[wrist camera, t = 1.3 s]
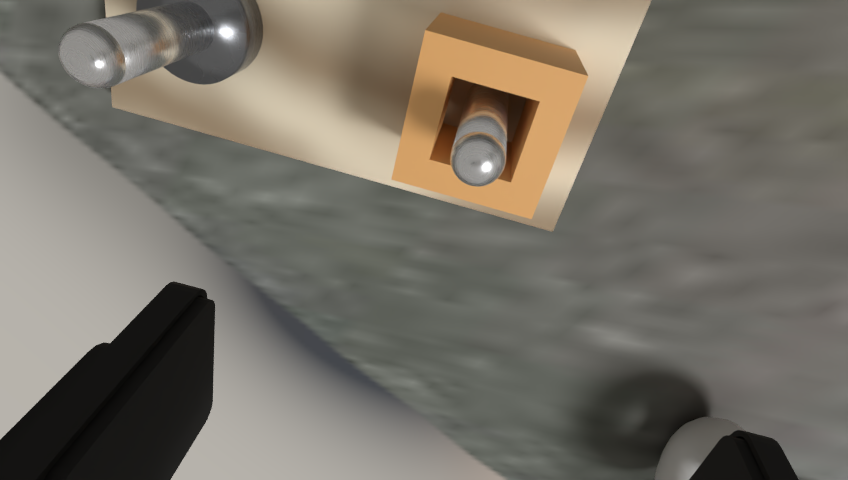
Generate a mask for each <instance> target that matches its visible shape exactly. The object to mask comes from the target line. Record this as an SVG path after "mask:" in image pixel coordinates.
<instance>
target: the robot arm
mask: <svg viewBox="0 0 848 480" xmlns="http://www.w3.org/2000/svg"><path fill="white" fill-rule="evenodd" d="M214 320H215V303H214V301H213V300H210V299H207V293H206V291H205V290H203V289H200V288H196V287H193V286H188V285H185V284H181V283H177V282H170V283H169V284H168V285H166V286H165V287H164V288H163V289H162V291H160V292H159V294H158V295H157V296H156V297H155V298H154V299H153V300H152V301H151V302H150V303H149V304H148V305H147V306H146V307H145V308H144V309H143V310H142V311H141V312H140V313H139V314H138V315H137V316H136V317H135V318H134V319H133V320H132V321H131V322H130V324H129V325H128V326H127V327H126V328H125V329H124V330H123V331H122V332H121V333H120V334H119V335H118V336H117V337H116V338H115V339H114V340H113V341H112V342H111V343H101V344H99V345H96V346H95V347H94V348H93V349H91V350H90V351H89V352H88V353H87V354H86V355H85V356H84V357H83V358H82V359H81V360H80V361H79V362H78V363H77V364H76V365H75V366H74V367H73V368H72V369H71V370H70V371H69V372H68V373H67V374H66V375H65V376H64V377H63V378H62V379H61V380H60V381H59V382H58V383H57V384H56V385H55V386H54V387H53V388H52V389H51V390H50V391H49V392H48V393H47V394H46V395H45V396H44V397H43V398H42V399H41V400H40V401H39V402H38V403H37V404H36V405H35V406H34V407H33V408H32V409H31V410H30V411H29V412H28V413H27V414H26V415H25V416H24V417H23V418H22V419H21V420H20V421H19V422H18V423H17V424H16V425H15V426H14V427H13V428H12V429H11V430H10V431H9V432H8V433H7V434H6V435H5V436H4V437H3V438H2V439H1V440H0V480H170V479H171V478H172V476H173V474H174V473H175V471H176V470H177V468H178V466H179V465H180V463H181V461H182V460H183V458H184V457H185V455H186V453H187V452H188V450H189V448H190V447H191V445H192V443H193V442H194V440H195V439H196V437H197V435H198V434H199V432H200V430H201V429H202V427H203V426H204V424H205V422H206V420H207V419H208V416H209V414H210V410H211V407H212V402H213V364H214V362H213V361H214V325H215V321H214ZM689 480H798V478H797V476H796V474H795V472H794V470H793V469H792V467H791V465H790V463H789V461H788V459H787V457H786V456H785V454H784V452H783V450H782V448H781V446H780V445H779V444H778V442H777V441H775V440H774V439H772V438H769V437H765V436H761V435H758V434H754V433H750V432H746V431H742V430H737V431H734V432H733V433H732V434H731V435H729V436H728V435H726V436H723V437H722V438H721V439H720V440H719V441H718V443H717V444H716V445H715V447H714V448H713V449H712V450H711V452H710V453H709V454H708V456H707V457H706V458H705V460H704V461H703V462H702V463H701V465H700V466H699V467H698V469H697V470H696V471H695V473H694V474H693V475H692V476H691V478H690V479H689Z"/></svg>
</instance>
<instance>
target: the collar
mask: <svg viewBox="0 0 848 480" xmlns="http://www.w3.org/2000/svg"><path fill="white" fill-rule="evenodd" d="M455 78H458V79H462V80H466V81H469V82H473V83H476V84H480V85H483V86H487V87H490V88H494V89H497V90H501V91H504V92H508V93H512V94H515V95H519V96H522V97H526V98H527V99H526V102H525V105H524V108H523V111H522V114H521V117H520V119H519V122H518V125H517V128H516V131H515V134H514V137H513V140H512V142H508V141H507V149H506V164H505V168H504V170H503V172H502V174H501V175H500V176H499V178H497V179H496V180H495V181H494V182H492V183H490V184H488V185H485V186H480V187H476V186H470V185H467V184H465V183H463V182H462V181H461V180H459V179H458V178H457V176H456V175H455V174H454V172H453V170H452V167H451V162H450V156H451V151H452V147H453V144H454V140H455V137H456V133H457V130H458V127H455V126H451V125H448V124H444V123H443V121H444V117H445V114H446V110H447V106H448V102H449V99H450V95H451V91H452V87H453V84H454V80H455ZM587 79H588V74H587V72H586V70H585V68H584V66H583V64H582V62H581V60H580V58H579V56H578V54H577V52H576V50H573V49H569V48H566V47H562V46H559V45H555V44H551V43H548V42H544V41H541V40H537V39H534V38H530V37H527V36H523V35H520V34H516V33H512V32H509V31H505V30H502V29H498V28H495V27H491V26H488V25H484V24H480V23H477V22H473V21H470V20H466V19H463V18H459V17H456V16H452V15H449V14H445V13H440V14H439V15H438V16H437V17H436V18H435V19H434V21H433V22H432V23H431V24H430V25H429V26H428V27H427V29H426V30H425V33H424V37H423V42H422V46H421V51H420V55H419V59H418V64H417V68H416V73H415V77H414V82H413V86H412V90H411V95H410V99H409V104H408V108H407V112H406V117H405V121H404V126H403V130H402V134H401V139H400V143H399V148H398V152H397V156H396V161H395V165H394V170H393V174H392V179H391V180H395V181H398V182H402V183H405V184H409V185H412V186H416V187H419V188H423V189H426V190H430V191H433V192H437V193H440V194H444V195H447V196H451V197H454V198H458V199H462V200H465V201H469V202H472V203H476V204H479V205H483V206H486V207H490V208H493V209H497V210H500V211H504V212H507V213H511V214H514V215H518V216H522V217H525V218H529V219H532V217H533V215H534V212H535V210H536V207H537V205H538V202H539V200H540V197H541V194H542V192H543V189H544V187H545V184H546V182H547V179H548V177H549V174H550V172H551V169H552V167H553V164H554V162H555V159H556V157H557V154H558V152H559V149H560V147H561V144H562V142H563V139H564V137H565V134H566V131H567V129H568V126H569V124H570V121H571V119H572V116H573V114H574V111H575V109H576V106H577V104H578V101H579V99H580V96H581V94H582V91H583V89H584V86H585V84H586V81H587Z"/></svg>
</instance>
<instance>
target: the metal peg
mask: <svg viewBox="0 0 848 480" xmlns="http://www.w3.org/2000/svg"><path fill="white" fill-rule="evenodd" d="M262 39H263V21H262V16H261V12H260V9H259V6H258V4H257V2H256V0H137V3H136V11H135V12H130V13H126V14H121V15H117V16H112V17H107V18H103V19H98V20H94V21H89V22H85V23H80V24H77V25H74V26H72V27H71V28H69V29H68V30H67V31H66V32H65V33H64V34H63V36H62V37H61V39H60V42H59V48H58V52H59V58H60V61H61V63H62V65H63V67H64V69H65V70H66V71H67V73H68V74H69V75H70V76H71V77H72V78H74V79H75V80H76V81H78V82H80V83H81V84H84V85H86V86H89V87H93V88H109V87H113V86H115V85H118V84H120V83H123V82H125V81H128V80H130V79H133V78H136V77H138V76H141V75H143V74H146V73H148V72H151V71H153V70H156V69H158V68H161V67H164V68H165V69H166V70H167V71H169V72H170V73H171V74H173V75H175V76H176V77H178V78H180V79H182V80H184V81H187V82H190V83H195V84H202V85H206V84H214V83H218V82H220V81H223V80H225V79H227V78H228V77H230V76H232V75H234V74H236V73H238V72H240V71H242V70H244V69H245V68H247V67H248V66H249V65H250V64H251V63H252V62H253V61H254V60H255V58H256V56H257V55H258V53H259V50H260V48H261V44H262Z"/></svg>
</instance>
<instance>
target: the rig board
mask: <svg viewBox="0 0 848 480" xmlns="http://www.w3.org/2000/svg"><path fill="white" fill-rule="evenodd" d="M256 2H257V4H258V6H259V9H260V12H261V16H262V21H263V39H262V44H261V48H260V50H259V53H258V55H257V56H256V58H255V60H254V61H253V62H252V63H251V64H250V65H249V66H248V67H247V68H245V69H244V70H242V71H240V72H238V73H236V74H234V75H232V76H230V77H228V78H227V79H225V80H223V81H220V82H218V83H214V84H206V85H202V84H195V83H190V82H187V81H184V80H182V79H180V78H178V77H176V76H175V75H173V74H171V73H170V72H169V71H167V70H166V69H165V68H164V67H161V68H158V69H156V70H153V71H151V72H148V73H146V74H143V75H141V76H138V77H136V78H133V79H130V80H128V81H125V82H123V83H120V84H118V85H115V86H113V87H111V95H112V107H114V108H118V109H121V110H125V111H128V112H132V113H135V114H139V115H143V116H146V117H150V118H153V119H157V120H160V121H164V122H167V123H171V124H174V125H178V126H181V127H185V128H188V129H192V130H195V131H199V132H203V133H206V134H210V135H213V136H217V137H220V138H224V139H227V140H231V141H234V142H238V143H241V144H245V145H248V146H252V147H255V148H259V149H262V150H266V151H270V152H273V153H277V154H280V155H284V156H287V157H291V158H294V159H298V160H301V161H305V162H308V163H312V164H315V165H319V166H322V167H326V168H330V169H333V170H337V171H340V172H344V173H347V174H351V175H354V176H358V177H361V178H365V179H368V180H372V181H375V182H379V183H382V184H386V185H389V186H393V187H397V188H400V189H404V190H407V191H411V192H414V193H418V194H421V195H425V196H428V197H432V198H435V199H439V200H442V201H446V202H449V203H453V204H457V205H460V206H464V207H467V208H471V209H474V210H478V211H481V212H485V213H488V214H492V215H495V216H499V217H502V218H506V219H509V220H513V221H517V222H520V223H524V224H527V225H531V226H534V227H538V228H541V229H545V230H548V231H552V232H553V230H554V227H555V225H556V223H557V220H558V218H559V216H560V213H561V211H562V209H563V206H564V204H565V202H566V199H567V197H568V195H569V192H570V190H571V187H572V185H573V183H574V180H575V178H576V176H577V173H578V171H579V169H580V166H581V164H582V162H583V159H584V157H585V155H586V152H587V150H588V148H589V145H590V143H591V141H592V138H593V136H594V134H595V131H596V129H597V127H598V124H599V122H600V120H601V117H602V115H603V113H604V110H605V108H606V105H607V103H608V101H609V98H610V96H611V94H612V91H613V89H614V87H615V84H616V82H617V80H618V77H619V75H620V73H621V70H622V68H623V66H624V63H625V61H626V59H627V56H628V54H629V52H630V49H631V47H632V45H633V42H634V40H635V38H636V35H637V33H638V31H639V28H640V26H641V23H642V21H643V19H644V16H645V14H646V12H647V9H648V7H649V5H650V2H651V0H256ZM136 3H137V0H105V11H106V18H107V17H112V16H117V15H121V14H126V13H130V12H135V11H136ZM440 13H445V14H449V15H452V16H456V17H459V18H463V19H466V20H470V21H473V22H477V23H480V24H484V25H488V26H491V27H495V28H498V29H502V30H505V31H509V32H512V33H516V34H520V35H523V36H527V37H530V38H534V39H537V40H541V41H544V42H548V43H551V44H555V45H559V46H562V47H566V48H569V49H573V50H576V52H577V54H578V56H579V58H580V60H581V62H582V64H583V66H584V68H585V70H586V72H587V74H588V79H587V81H586V84H585V86H584V89H583V91H582V94H581V96H580V99H579V101H578V104H577V106H576V109H575V111H574V114H573V116H572V119H571V121H570V124H569V126H568V129H567V131H566V134H565V137H564V139H563V142H562V144H561V147H560V149H559V152H558V154H557V157H556V159H555V162H554V164H553V167H552V169H551V172H550V174H549V177H548V179H547V182H546V184H545V187H544V189H543V192H542V194H541V197H540V200H539V202H538V205H537V207H536V210H535V212H534V215H533V217H532V219H529V218H525V217H522V216H518V215H514V214H511V213H507V212H504V211H500V210H497V209H493V208H490V207H486V206H483V205H479V204H476V203H472V202H469V201H465V200H462V199H458V198H454V197H451V196H447V195H444V194H440V193H437V192H433V191H430V190H426V189H423V188H419V187H416V186H412V185H409V184H405V183H402V182H398V181H395V180H391V179H392V174H393V170H394V165H395V161H396V156H397V152H398V148H399V143H400V139H401V134H402V130H403V126H404V121H405V117H406V112H407V108H408V104H409V99H410V95H411V90H412V86H413V82H414V77H415V73H416V68H417V64H418V59H419V55H420V51H421V46H422V42H423V37H424V33H425V30H426V29H427V27H428V26H429V25H430V24H431V23H432V22H433V21H434V19H435V18H436V17H437V16H438V15H439V14H440ZM473 84H474V83H473V82H469V81H466V80H462V79H458V78H455V80H454V84H453V87H452V91H451V95H450V99H449V102H448V106H447V110H446V114H445V117H444V121H443V123H444V124H448V125H451V126H455V127H458V126H459V123H460V119H461V116H462V112H463V109H464V105H465V102H466V98H467V95H468V91H469V89H470V87H471V86H472V85H473ZM526 99H527V98H526V97H522V96H519V95H515V94H512V93H508V123H507V141H508V142H512V140H513V137H514V134H515V131H516V128H517V125H518V122H519V119H520V117H521V114H522V111H523V108H524V105H525V102H526Z"/></svg>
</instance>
